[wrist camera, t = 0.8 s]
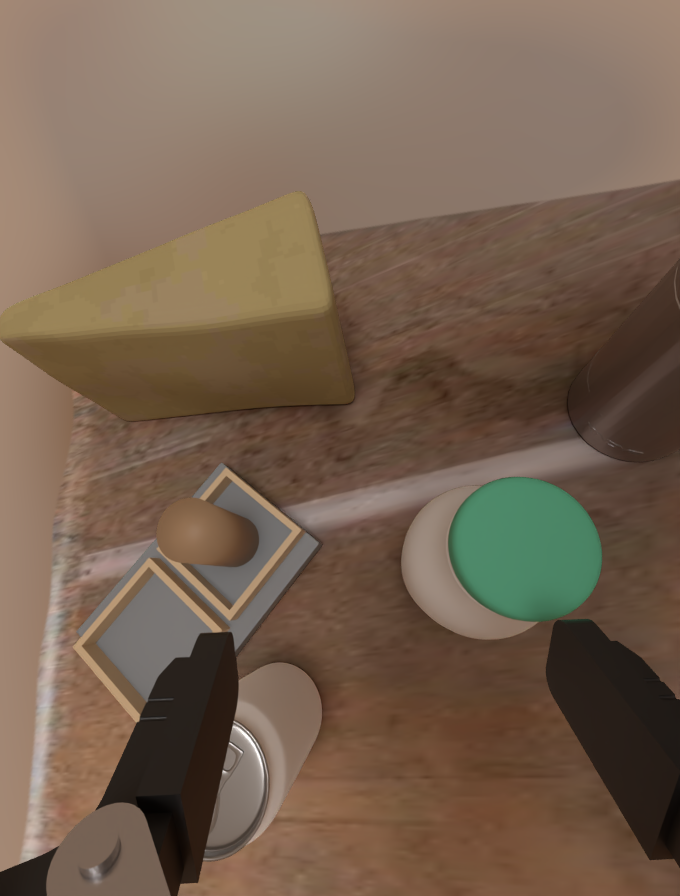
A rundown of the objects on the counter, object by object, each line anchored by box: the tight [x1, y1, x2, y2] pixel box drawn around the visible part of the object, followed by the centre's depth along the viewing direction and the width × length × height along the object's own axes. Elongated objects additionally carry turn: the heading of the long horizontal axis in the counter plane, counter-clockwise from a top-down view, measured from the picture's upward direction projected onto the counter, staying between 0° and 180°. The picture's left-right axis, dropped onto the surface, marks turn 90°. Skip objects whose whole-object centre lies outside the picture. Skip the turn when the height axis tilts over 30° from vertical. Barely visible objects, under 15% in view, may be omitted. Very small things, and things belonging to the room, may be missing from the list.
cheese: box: [0, 191, 355, 421], centre depth 32 cm, size 22×10×15 cm, turn 101°
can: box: [203, 662, 322, 861], centre depth 25 cm, size 6×6×12 cm
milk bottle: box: [401, 477, 602, 640], centre depth 22 cm, size 8×8×20 cm
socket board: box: [73, 463, 322, 723], centre depth 29 cm, size 17×11×10 cm, turn 141°
